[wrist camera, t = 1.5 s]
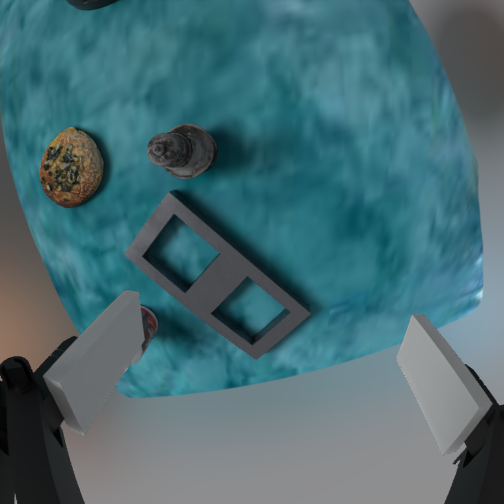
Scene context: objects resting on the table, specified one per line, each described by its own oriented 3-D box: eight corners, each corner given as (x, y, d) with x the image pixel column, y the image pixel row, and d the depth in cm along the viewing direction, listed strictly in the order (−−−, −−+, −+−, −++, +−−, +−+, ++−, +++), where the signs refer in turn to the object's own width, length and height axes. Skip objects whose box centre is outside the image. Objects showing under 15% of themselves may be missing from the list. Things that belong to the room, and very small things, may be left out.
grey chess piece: (194, 187, 32) (156, 203, 21) (160, 153, 31) (108, 154, 20) (230, 150, 31) (208, 146, 20) (195, 116, 30) (155, 97, 18)
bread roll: (48, 207, 34) (26, 209, 29) (53, 134, 32) (33, 129, 27) (107, 208, 34) (87, 210, 29) (113, 126, 32) (95, 117, 27)
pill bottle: (160, 338, 40) (136, 381, 30) (128, 331, 40) (99, 371, 30) (157, 306, 38) (129, 347, 29) (123, 300, 38) (90, 337, 29)
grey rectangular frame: (131, 249, 35) (124, 254, 34) (174, 189, 33) (168, 191, 31) (256, 351, 39) (256, 359, 37) (309, 305, 36) (310, 313, 34)
